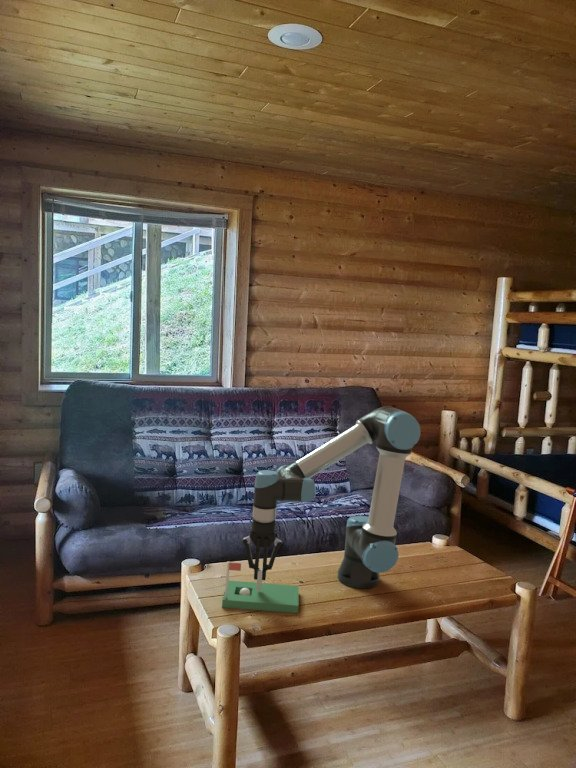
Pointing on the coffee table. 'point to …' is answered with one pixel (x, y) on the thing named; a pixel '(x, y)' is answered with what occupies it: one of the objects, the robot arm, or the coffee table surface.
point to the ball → (244, 591)
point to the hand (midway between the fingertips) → (259, 588)
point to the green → (262, 597)
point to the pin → (229, 567)
